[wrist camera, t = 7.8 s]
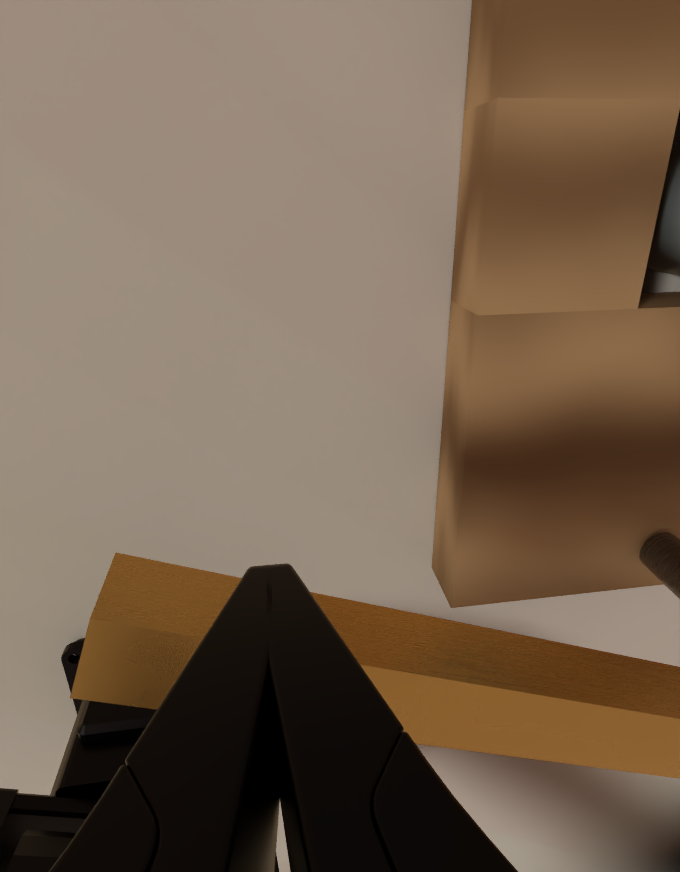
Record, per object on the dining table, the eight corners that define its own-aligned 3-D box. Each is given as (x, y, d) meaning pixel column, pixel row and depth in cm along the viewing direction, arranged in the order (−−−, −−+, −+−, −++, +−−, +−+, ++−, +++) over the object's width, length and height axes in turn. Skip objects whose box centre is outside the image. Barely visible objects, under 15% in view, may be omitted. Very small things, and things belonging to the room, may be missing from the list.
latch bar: (686, 537, 21) (975, 767, 12) (663, 570, 21) (926, 812, 13) (177, 391, 16) (90, 616, 7) (164, 440, 16) (69, 700, 8)
